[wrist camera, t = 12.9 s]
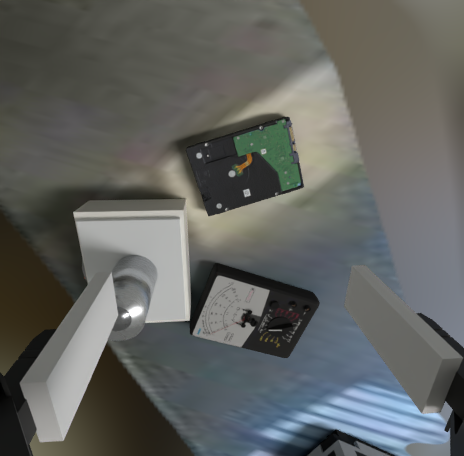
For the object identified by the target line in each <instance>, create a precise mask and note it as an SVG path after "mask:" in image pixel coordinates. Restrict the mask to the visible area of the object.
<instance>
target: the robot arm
mask: <svg viewBox="0 0 464 456" xmlns="http://www.w3.org/2000/svg"><path fill="white" fill-rule="evenodd" d="M344 307H345V308H346V310H347V311H348V312H349V314H350V315H351V316H352V318H353V319H354V321H355V322H356V323H357V325H358V326H359V327H360V329H361V330H362V332H363V333H364V334H365V336H366V337H367V339H368V340H369V341H370V343H371V344H372V345H373V347H374V348H375V350H376V351H377V352H378V354H379V355H380V356H381V358H382V359H383V361H384V362H385V363H386V365H387V366H388V368H389V369H390V370H391V372H392V373H393V374H394V376H395V377H396V379H397V380H398V381H399V383H400V384H401V385H402V387H403V388H404V390H405V391H406V392H407V394H408V395H409V397H410V398H411V399H412V401H413V402H414V403H415V405H416V406H417V408H418V409H419V410H420V412H421V413H422V414H425V413H438V412H441V410H442V408H443V405H444V403H445V401H446V402H447V403H448V404H449V405H450V407H451V408H452V409H453V411H452V413H451V415H450V418H449V420H448V422H447V425H446V427H445V430H444V431H446V432H448V431H449V429H450V439H451V440H450V447H451V449H450V451H451V456H464V348H463V347H462V346H461V345H460V344H459V343H458V342H457V341H455V340H454V339H453V338H452V337H450V335H448V333H446V332H445V331H444V330H442V328H441V327H440V326H439V325H438V324H437V323H436V322H434V321H433V320H432V319H430V318H428V317H427V316H425V315H423V314H421V313H415V312H414V311H413V310H412V309H411V308H410V307H409V306H408V305H407V304H406V303H405V302H403V301H402V300H401V299H400V298H399V297H398V296H397V295H396V294H395V293H394V292H393V291H392V290H391V289H390V288H389V287H388V286H386V285H385V284H384V283H383V282H382V281H381V280H380V279H379V278H378V277H377V276H376V275H375V274H374V273H373V272H372V271H371V270H370V269H368V268H367V267H366V266H365V265H359V266H352V269H351V274H350V279H349V284H348V289H347V294H346V299H345V304H344ZM117 317H118V310H117V304H116V297H115V291H114V284H113V278H112V272H96V274H95V275H94V277H93V278H92V279H91V281H90V282H89V284H88V285H87V287H86V288H85V289H84V291H83V292H82V294H81V295H80V297H79V298H78V300H77V301H76V302H75V304H74V305H73V307H72V308H71V310H70V311H69V313H68V314H67V315H66V317H65V318H64V320H63V321H62V323H61V324H60V326H59V327H58V328H57V329H51V330H44V331H43V332H42V333H40V334H39V335H38V336H36V337H35V338H34V339H33V340H32V341H31V342H30V344H29V345H28V346H27V347H26V349H25V351H23V353H22V354H21V355H20V357H19V359H18V360H17V361H16V362H15V363H14V364H13V366H12V367H11V368H10V370H9V371H8V372H7V373H6V375H5V376H3V375H2V374H1V373H0V456H33V454H32V451H31V448H30V445H29V443H30V442H31V440H32V438H33V436H34V434H35V432H37V435H38V438H39V441H40V442H50V441H63V440H64V437H65V436H66V433H67V431H68V429H69V427H70V424H71V422H72V420H73V418H74V415H75V413H76V411H77V408H78V406H79V404H80V401H81V399H82V397H83V395H84V392H85V390H86V388H87V386H88V383H89V381H90V379H91V376H92V374H93V372H94V369H95V367H96V365H97V363H98V360H99V358H100V355H101V353H102V351H103V349H104V347H105V344H106V342H107V340H108V337H109V335H110V333H111V330H112V328H113V326H114V324H115V321H116V319H117Z"/></svg>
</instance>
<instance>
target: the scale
mask: <svg viewBox="0 0 464 456" xmlns="http://www.w3.org/2000/svg"><path fill="white" fill-rule="evenodd" d="M73 214H74V219H75V224H76V229H77V233H78V238H79V243H80V248H81V253H82V258H83V261H82V269H83V274H84V279H86V280H87V282H88V284H89V282H90V281H91V279H92V278H93V277H94V275H95V274H96V272H111V271H112V269H113V268H114V266H115V264H116V263H117V262H118V261H119V260H120V259H121V258H123V257H125V256H129V255H139V256H143V257H145V258H147V259H149V260H150V261H151V262H152V263H153V264H154V265H155V267H156V269H157V273H158V277H157V281H156V285H155V288H154V292H153V295H152V299H151V302H150V306H149V310H148V313H147V317H146V320H145V323H152V322H172V321H190V310H191V284H190V265H189V246H188V227H187V208H186V199H148V200H89V201H88V202H86V203H85V204H84V205H82V206H81V207H80V208H78V209H77V210H75V211H74V212H73Z"/></svg>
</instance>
